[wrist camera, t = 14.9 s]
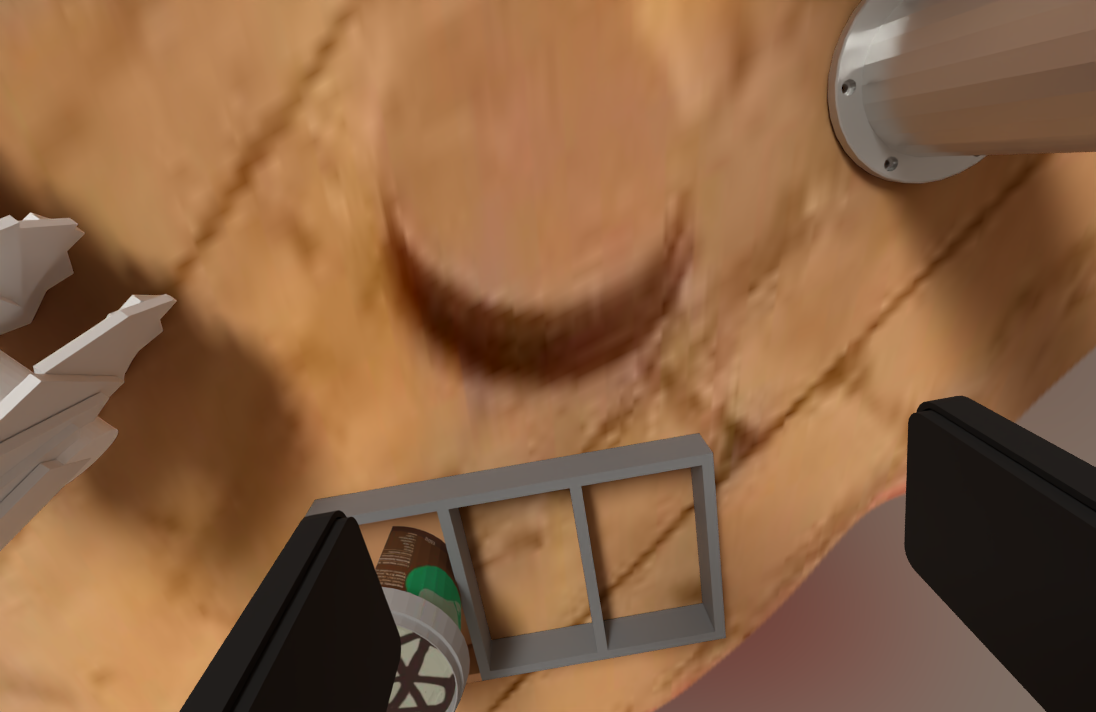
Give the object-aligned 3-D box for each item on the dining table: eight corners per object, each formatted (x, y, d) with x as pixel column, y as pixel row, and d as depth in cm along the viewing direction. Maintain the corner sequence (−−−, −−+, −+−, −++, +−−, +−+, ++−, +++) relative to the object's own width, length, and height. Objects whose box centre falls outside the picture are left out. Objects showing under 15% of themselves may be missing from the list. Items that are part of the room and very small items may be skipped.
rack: (698, 433, 41) (712, 452, 38) (712, 609, 46) (725, 637, 43) (314, 499, 40) (299, 524, 38) (373, 668, 46) (364, 701, 43)
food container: (479, 635, 45) (471, 759, 36) (403, 639, 45) (374, 765, 35) (474, 506, 41) (463, 607, 32) (390, 508, 41) (354, 611, 31)
